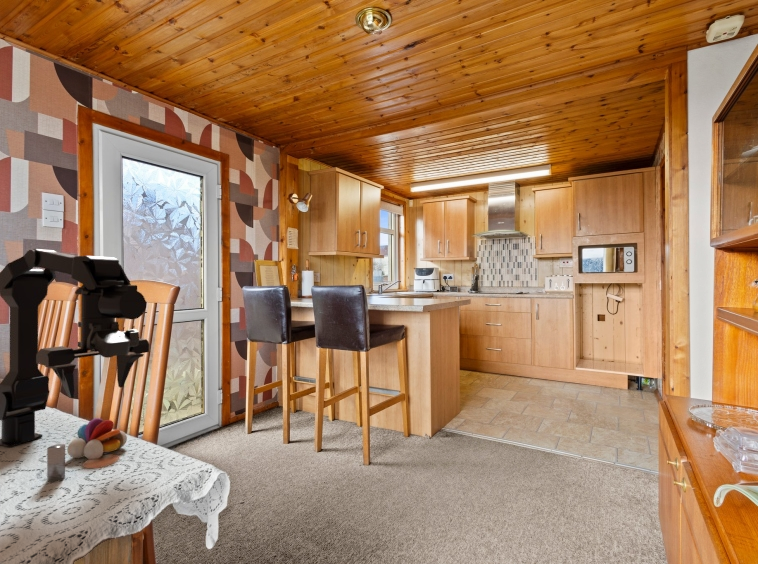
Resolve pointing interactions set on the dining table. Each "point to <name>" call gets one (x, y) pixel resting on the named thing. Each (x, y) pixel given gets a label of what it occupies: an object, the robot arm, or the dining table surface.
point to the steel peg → (55, 463)
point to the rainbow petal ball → (96, 439)
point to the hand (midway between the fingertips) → (97, 392)
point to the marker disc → (101, 461)
